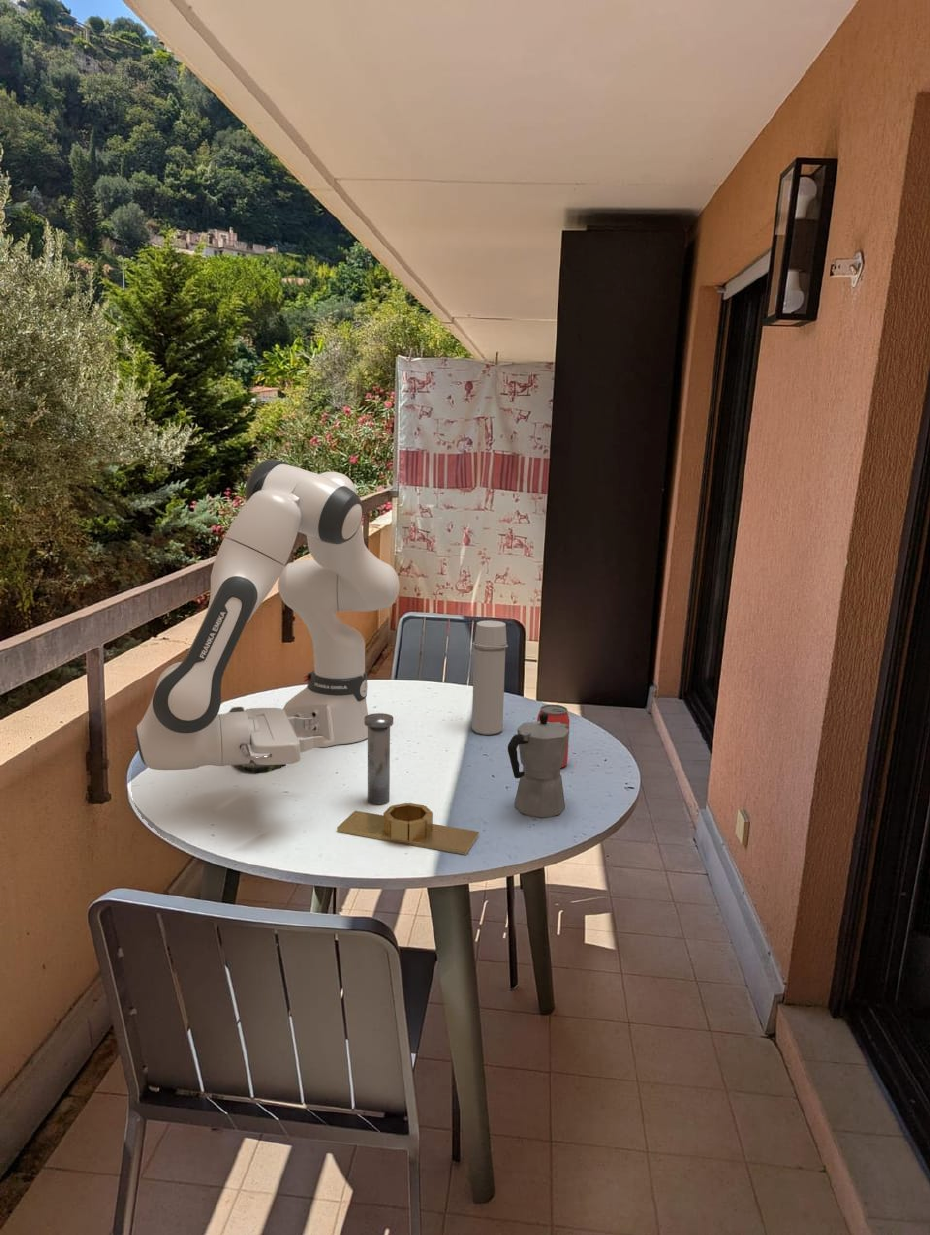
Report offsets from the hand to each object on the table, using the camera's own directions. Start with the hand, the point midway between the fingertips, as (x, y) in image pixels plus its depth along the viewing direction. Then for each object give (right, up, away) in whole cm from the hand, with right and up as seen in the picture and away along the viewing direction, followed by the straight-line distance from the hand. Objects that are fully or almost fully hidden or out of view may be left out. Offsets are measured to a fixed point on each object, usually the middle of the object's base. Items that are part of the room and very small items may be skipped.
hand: (318, 731), depth 153 cm
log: (-16, -10, +23) cm, 30 cm away
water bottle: (+31, -6, +45) cm, 55 cm away
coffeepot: (+39, -15, +5) cm, 42 cm away
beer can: (+44, -10, +26) cm, 52 cm away
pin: (+10, -14, +7) cm, 18 cm away
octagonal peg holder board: (+16, -17, -6) cm, 24 cm away
